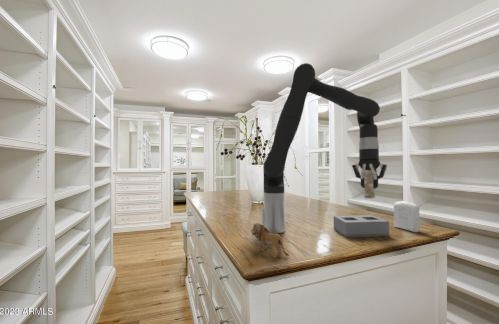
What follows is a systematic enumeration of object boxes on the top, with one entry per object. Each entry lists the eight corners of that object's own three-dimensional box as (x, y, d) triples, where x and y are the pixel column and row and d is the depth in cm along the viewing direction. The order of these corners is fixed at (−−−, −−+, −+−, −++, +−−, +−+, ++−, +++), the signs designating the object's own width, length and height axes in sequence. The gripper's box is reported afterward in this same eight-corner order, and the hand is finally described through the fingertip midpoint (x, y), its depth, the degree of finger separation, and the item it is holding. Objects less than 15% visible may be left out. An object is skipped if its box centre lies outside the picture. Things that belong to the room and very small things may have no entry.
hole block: (346, 237, 95) (345, 222, 95) (333, 229, 107) (333, 216, 107) (389, 236, 96) (389, 221, 96) (372, 228, 108) (372, 215, 108)
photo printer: (421, 231, 102) (420, 202, 102) (415, 232, 100) (414, 203, 100) (398, 226, 111) (397, 199, 111) (392, 227, 110) (391, 200, 110)
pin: (363, 198, 101) (363, 170, 101) (365, 196, 104) (364, 169, 104) (374, 198, 99) (373, 170, 99) (375, 197, 102) (374, 169, 102)
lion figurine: (248, 249, 82) (248, 223, 82) (257, 245, 86) (257, 221, 87) (285, 259, 73) (284, 230, 73) (293, 254, 77) (293, 227, 77)
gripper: (348, 149, 104) (349, 187, 104) (385, 147, 94) (385, 189, 94) (354, 149, 109) (355, 186, 109) (389, 147, 100) (390, 188, 99)
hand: (369, 187), depth 102 cm, fingers closed on pin, 4 cm apart
